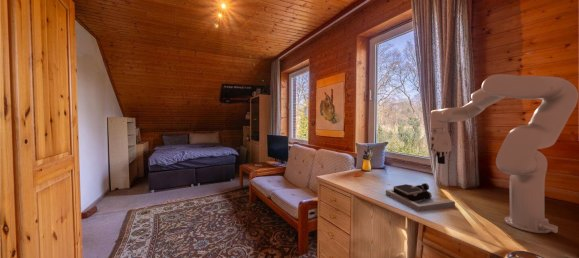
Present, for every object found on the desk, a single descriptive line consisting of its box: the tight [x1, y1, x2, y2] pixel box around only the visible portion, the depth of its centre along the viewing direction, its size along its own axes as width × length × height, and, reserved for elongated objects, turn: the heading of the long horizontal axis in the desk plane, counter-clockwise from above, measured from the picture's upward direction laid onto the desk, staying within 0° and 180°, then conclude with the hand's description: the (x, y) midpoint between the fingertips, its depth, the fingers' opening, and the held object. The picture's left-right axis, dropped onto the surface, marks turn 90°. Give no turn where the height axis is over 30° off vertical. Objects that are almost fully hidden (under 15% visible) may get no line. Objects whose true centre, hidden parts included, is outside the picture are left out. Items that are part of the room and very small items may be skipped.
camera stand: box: [385, 188, 456, 212], centre depth 119 cm, size 26×21×2 cm
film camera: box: [392, 182, 433, 203], centre depth 122 cm, size 8×16×15 cm
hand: (441, 163), depth 120 cm, fingers closed
